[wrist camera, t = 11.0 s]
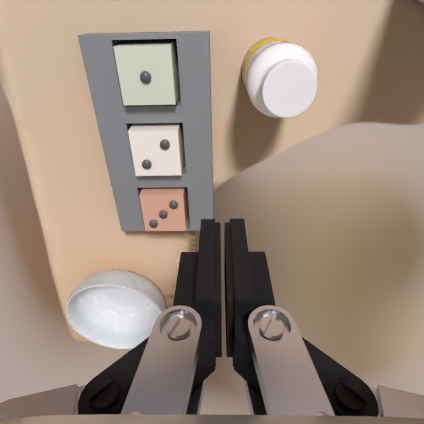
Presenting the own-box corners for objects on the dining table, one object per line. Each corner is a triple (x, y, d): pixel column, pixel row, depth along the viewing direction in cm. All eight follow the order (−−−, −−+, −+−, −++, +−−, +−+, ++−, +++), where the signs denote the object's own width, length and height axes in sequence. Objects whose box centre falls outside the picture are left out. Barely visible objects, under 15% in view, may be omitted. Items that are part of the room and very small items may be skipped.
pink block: (185, 181, 45) (182, 196, 42) (188, 215, 48) (185, 231, 45) (144, 182, 45) (138, 196, 42) (150, 215, 49) (144, 232, 45)
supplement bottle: (303, 82, 38) (337, 110, 27) (253, 105, 40) (266, 141, 29) (286, 24, 35) (317, 31, 24) (232, 53, 36) (238, 71, 25)
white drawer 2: (180, 120, 40) (177, 131, 37) (184, 162, 44) (181, 176, 40) (135, 121, 40) (127, 131, 37) (141, 163, 44) (135, 176, 40)
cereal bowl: (172, 261, 54) (167, 291, 48) (168, 321, 63) (163, 353, 58) (74, 251, 53) (57, 281, 48) (84, 313, 63) (71, 345, 57)
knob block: (174, 41, 35) (170, 45, 32) (179, 96, 39) (175, 105, 35) (123, 42, 36) (112, 46, 32) (131, 97, 39) (122, 106, 35)
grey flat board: (209, 30, 35) (209, 32, 33) (213, 219, 49) (213, 230, 47) (87, 33, 35) (77, 35, 33) (126, 220, 50) (121, 231, 47)
